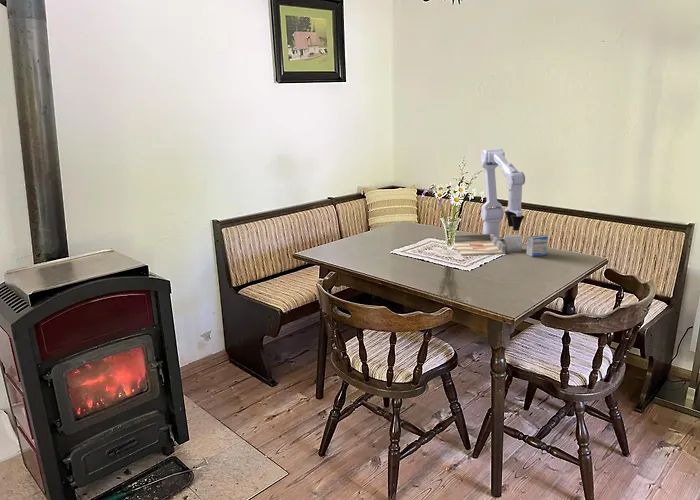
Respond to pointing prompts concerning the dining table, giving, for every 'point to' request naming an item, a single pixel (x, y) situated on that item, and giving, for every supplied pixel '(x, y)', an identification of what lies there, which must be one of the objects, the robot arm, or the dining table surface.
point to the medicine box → (537, 245)
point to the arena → (479, 244)
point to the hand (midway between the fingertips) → (513, 228)
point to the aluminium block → (513, 242)
